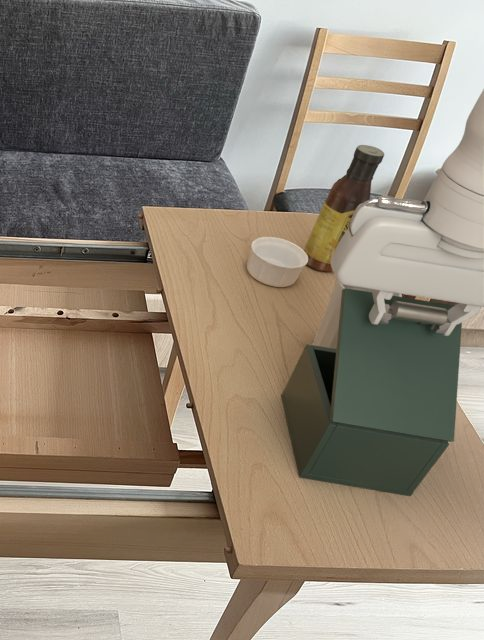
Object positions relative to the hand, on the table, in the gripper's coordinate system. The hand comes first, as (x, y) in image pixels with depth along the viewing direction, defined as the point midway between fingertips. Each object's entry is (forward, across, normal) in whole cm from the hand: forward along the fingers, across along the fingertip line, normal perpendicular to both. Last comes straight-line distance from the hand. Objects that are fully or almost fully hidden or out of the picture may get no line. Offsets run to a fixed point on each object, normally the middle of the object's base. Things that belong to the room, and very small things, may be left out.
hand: (407, 326), depth 73 cm
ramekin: (+18, -4, +35) cm, 40 cm away
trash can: (+18, 0, -1) cm, 18 cm away
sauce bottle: (+18, +6, +41) cm, 45 cm away
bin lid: (+4, 0, -2) cm, 4 cm away
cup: (+18, +2, +16) cm, 24 cm away
